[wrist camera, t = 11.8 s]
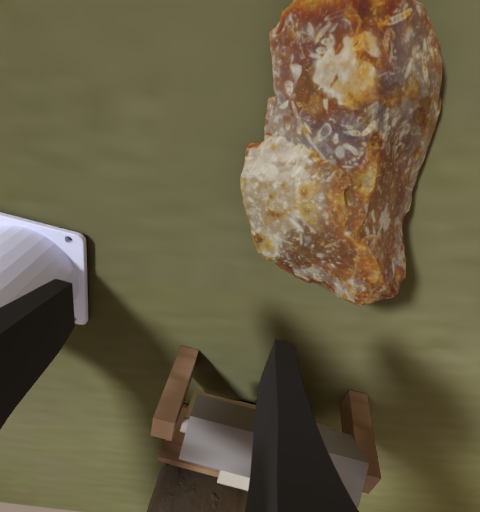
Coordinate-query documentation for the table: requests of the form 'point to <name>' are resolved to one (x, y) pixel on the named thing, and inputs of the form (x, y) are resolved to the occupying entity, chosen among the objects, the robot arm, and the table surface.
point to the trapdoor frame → (168, 428)
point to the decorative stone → (344, 142)
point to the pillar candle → (194, 493)
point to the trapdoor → (241, 441)
